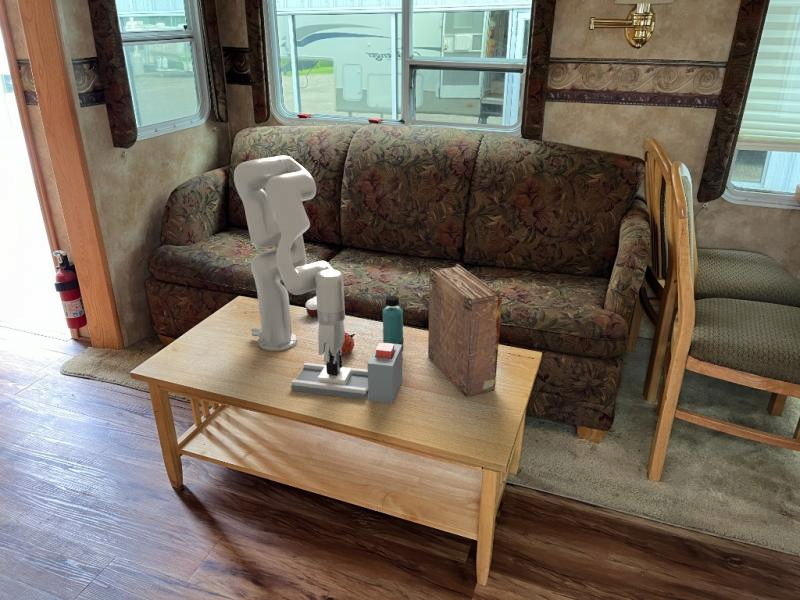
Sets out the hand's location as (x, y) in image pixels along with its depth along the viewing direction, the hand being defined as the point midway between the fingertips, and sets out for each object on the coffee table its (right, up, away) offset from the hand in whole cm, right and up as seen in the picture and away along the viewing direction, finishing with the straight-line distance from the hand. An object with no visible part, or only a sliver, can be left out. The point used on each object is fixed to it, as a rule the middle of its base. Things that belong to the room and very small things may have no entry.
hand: (334, 370), depth 179 cm
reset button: (+15, +4, -5) cm, 16 cm away
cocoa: (-12, +15, +44) cm, 47 cm away
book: (+37, -2, +8) cm, 38 cm away
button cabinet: (+15, -6, -1) cm, 16 cm away
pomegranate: (+1, +3, +19) cm, 19 cm away
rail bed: (0, -4, +2) cm, 5 cm away
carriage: (0, -3, +1) cm, 3 cm away
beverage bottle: (+17, +3, +17) cm, 24 cm away
